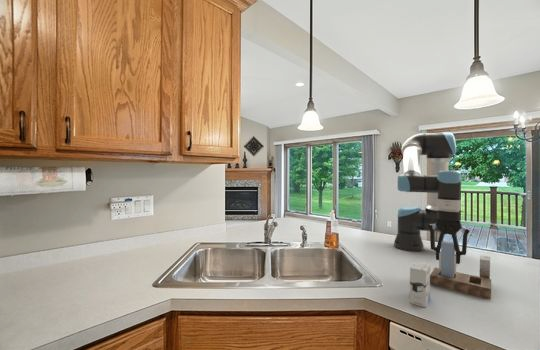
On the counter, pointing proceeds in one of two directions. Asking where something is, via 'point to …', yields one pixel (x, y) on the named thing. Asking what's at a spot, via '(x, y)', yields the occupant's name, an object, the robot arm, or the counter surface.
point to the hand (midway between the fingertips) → (447, 269)
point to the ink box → (420, 284)
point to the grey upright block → (485, 267)
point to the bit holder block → (462, 283)
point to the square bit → (447, 258)
